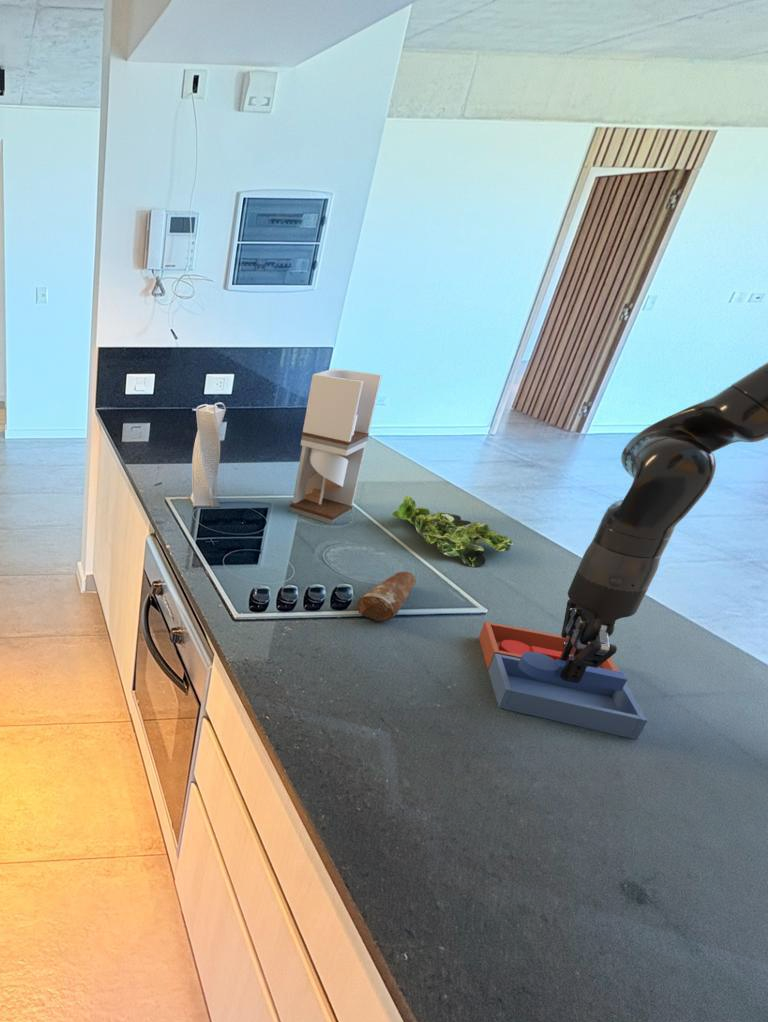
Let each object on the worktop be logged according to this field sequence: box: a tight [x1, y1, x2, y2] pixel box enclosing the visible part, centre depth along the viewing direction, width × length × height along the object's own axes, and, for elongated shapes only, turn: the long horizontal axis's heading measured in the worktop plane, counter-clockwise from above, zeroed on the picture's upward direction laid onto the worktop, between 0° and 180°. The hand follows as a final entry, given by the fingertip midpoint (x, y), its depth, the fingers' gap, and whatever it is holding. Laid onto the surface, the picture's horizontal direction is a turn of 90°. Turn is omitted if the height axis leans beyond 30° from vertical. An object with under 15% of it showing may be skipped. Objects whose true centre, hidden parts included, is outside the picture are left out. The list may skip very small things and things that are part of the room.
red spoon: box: [499, 640, 562, 661], centre depth 101 cm, size 12×5×2 cm, turn 66°
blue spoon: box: [518, 652, 628, 691], centre depth 91 cm, size 12×5×2 cm, turn 66°
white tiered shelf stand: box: [288, 367, 383, 525], centre depth 151 cm, size 11×11×35 cm
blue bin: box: [487, 653, 649, 740], centre depth 93 cm, size 17×10×4 cm, turn 65°
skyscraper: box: [188, 401, 227, 508], centre depth 159 cm, size 8×8×28 cm
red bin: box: [478, 621, 620, 672], centre depth 101 cm, size 17×10×4 cm, turn 65°
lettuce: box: [392, 495, 515, 568], centre depth 142 cm, size 18×25×7 cm
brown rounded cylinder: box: [356, 570, 417, 622], centre depth 118 cm, size 6×19×6 cm, turn 133°
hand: (566, 675), depth 92 cm, fingers closed on blue spoon, 2 cm apart
